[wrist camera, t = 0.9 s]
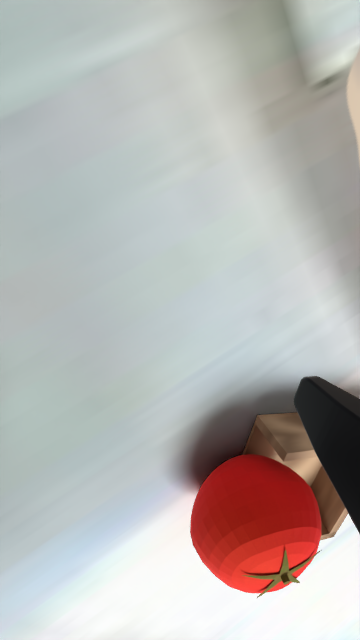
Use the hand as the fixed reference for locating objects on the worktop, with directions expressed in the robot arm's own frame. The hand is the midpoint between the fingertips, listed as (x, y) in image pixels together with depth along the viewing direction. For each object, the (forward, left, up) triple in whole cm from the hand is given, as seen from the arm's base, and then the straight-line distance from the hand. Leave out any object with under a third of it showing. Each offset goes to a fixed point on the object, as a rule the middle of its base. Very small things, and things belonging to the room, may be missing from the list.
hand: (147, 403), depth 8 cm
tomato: (-11, -26, -14) cm, 31 cm away
